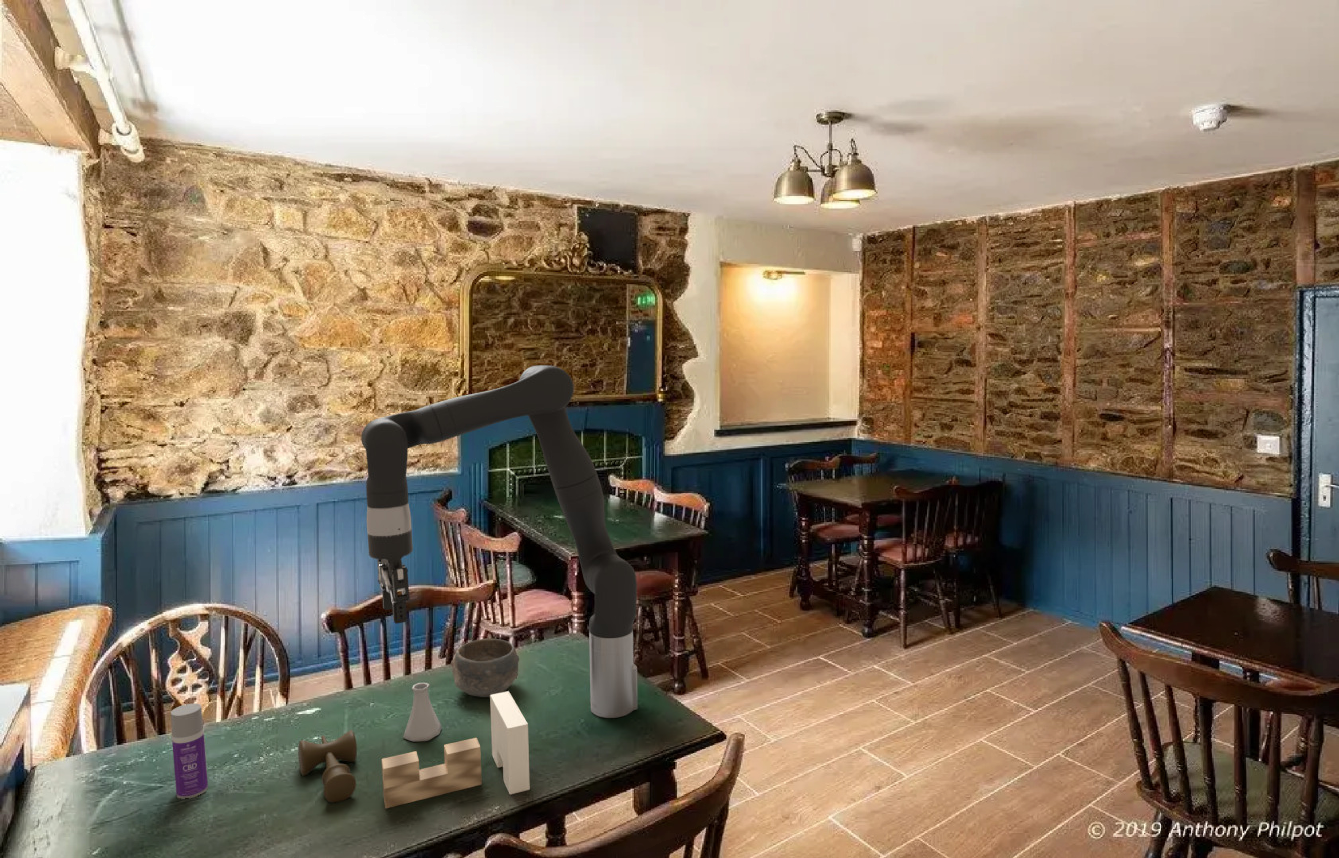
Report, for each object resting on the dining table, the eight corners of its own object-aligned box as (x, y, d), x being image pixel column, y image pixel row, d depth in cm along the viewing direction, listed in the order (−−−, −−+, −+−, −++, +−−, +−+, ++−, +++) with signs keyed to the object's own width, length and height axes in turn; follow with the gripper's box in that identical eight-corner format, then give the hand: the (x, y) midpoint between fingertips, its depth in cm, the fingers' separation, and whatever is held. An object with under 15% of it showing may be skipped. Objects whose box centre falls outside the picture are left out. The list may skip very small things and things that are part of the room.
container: (184, 802, 128) (178, 718, 127) (171, 793, 131) (164, 711, 129) (213, 788, 132) (207, 707, 131) (199, 780, 135) (193, 700, 133)
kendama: (309, 814, 125) (295, 757, 142) (370, 797, 131) (349, 744, 147) (309, 781, 125) (294, 727, 141) (370, 765, 130) (349, 715, 147)
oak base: (477, 774, 136) (476, 737, 135) (481, 784, 133) (480, 746, 132) (383, 797, 129) (381, 758, 128) (385, 808, 126) (383, 768, 125)
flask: (430, 744, 146) (428, 695, 145) (396, 741, 148) (394, 692, 147) (448, 726, 154) (446, 679, 152) (415, 723, 155) (413, 676, 154)
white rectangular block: (492, 755, 142) (490, 694, 141) (510, 751, 144) (508, 691, 143) (509, 794, 130) (507, 728, 128) (529, 789, 131) (527, 723, 130)
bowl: (467, 676, 177) (466, 635, 176) (530, 679, 175) (529, 638, 174) (441, 703, 163) (440, 659, 162) (510, 708, 161) (508, 663, 160)
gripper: (420, 533, 132) (425, 622, 134) (401, 518, 144) (406, 600, 146) (375, 540, 128) (381, 631, 130) (360, 524, 140) (365, 608, 142)
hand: (394, 615), depth 138 cm, fingers open, 8 cm apart
